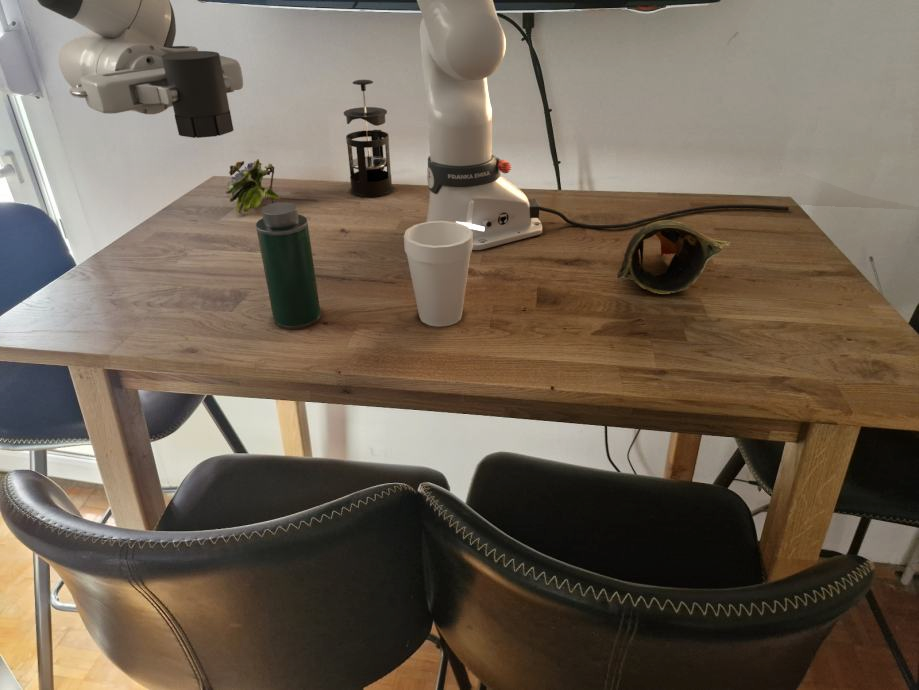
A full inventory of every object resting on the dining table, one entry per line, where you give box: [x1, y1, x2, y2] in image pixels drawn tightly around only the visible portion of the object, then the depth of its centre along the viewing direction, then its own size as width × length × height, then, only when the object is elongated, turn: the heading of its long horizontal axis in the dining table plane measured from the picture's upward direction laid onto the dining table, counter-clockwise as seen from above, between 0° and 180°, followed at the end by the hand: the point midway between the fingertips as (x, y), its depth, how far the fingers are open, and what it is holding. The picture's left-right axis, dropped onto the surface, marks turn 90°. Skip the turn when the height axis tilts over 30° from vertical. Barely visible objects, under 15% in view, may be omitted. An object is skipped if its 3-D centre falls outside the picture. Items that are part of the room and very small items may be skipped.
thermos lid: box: [162, 50, 234, 139], centre depth 81 cm, size 7×7×9 cm
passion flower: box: [225, 158, 281, 216], centre depth 134 cm, size 11×11×12 cm
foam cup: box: [403, 221, 473, 328], centre depth 92 cm, size 10×9×13 cm
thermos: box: [255, 201, 322, 331], centre depth 91 cm, size 7×7×17 cm
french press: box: [343, 79, 394, 199], centre depth 138 cm, size 12×9×23 cm
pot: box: [616, 219, 734, 295], centre depth 104 cm, size 17×11×18 cm
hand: (202, 90), depth 80 cm, fingers closed on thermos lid, 6 cm apart
